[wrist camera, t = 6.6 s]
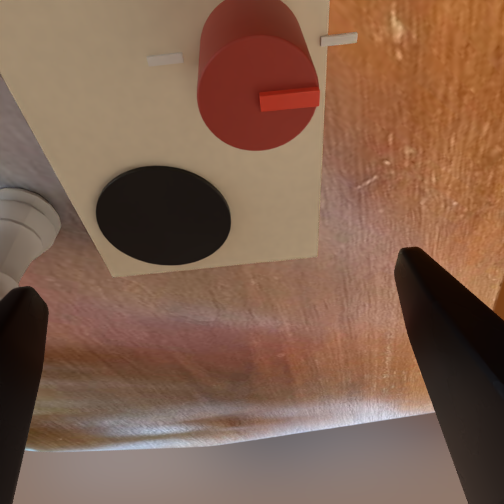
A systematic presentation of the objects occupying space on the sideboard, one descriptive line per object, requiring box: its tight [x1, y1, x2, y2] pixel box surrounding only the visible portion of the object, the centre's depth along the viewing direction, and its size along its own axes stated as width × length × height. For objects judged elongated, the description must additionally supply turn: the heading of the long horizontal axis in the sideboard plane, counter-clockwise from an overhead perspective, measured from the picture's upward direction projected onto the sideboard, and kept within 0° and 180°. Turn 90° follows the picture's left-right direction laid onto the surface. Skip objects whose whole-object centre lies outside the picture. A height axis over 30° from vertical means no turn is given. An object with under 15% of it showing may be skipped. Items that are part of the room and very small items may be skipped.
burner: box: [96, 166, 231, 266], centre depth 23 cm, size 7×7×1 cm
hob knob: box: [197, 0, 320, 151], centre depth 15 cm, size 4×4×4 cm
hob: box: [0, 0, 358, 278], centre depth 20 cm, size 17×14×3 cm
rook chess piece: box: [0, 188, 61, 300], centre depth 22 cm, size 4×4×8 cm
